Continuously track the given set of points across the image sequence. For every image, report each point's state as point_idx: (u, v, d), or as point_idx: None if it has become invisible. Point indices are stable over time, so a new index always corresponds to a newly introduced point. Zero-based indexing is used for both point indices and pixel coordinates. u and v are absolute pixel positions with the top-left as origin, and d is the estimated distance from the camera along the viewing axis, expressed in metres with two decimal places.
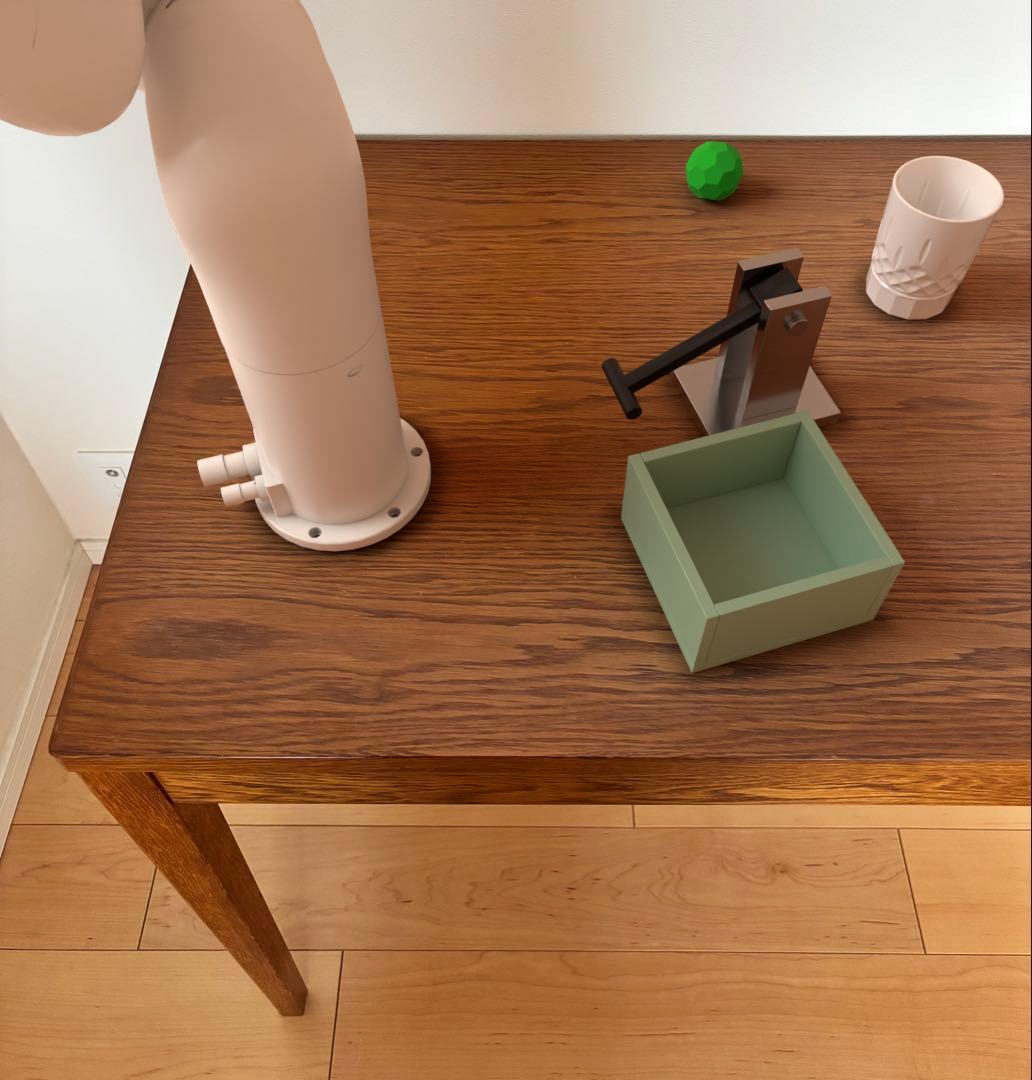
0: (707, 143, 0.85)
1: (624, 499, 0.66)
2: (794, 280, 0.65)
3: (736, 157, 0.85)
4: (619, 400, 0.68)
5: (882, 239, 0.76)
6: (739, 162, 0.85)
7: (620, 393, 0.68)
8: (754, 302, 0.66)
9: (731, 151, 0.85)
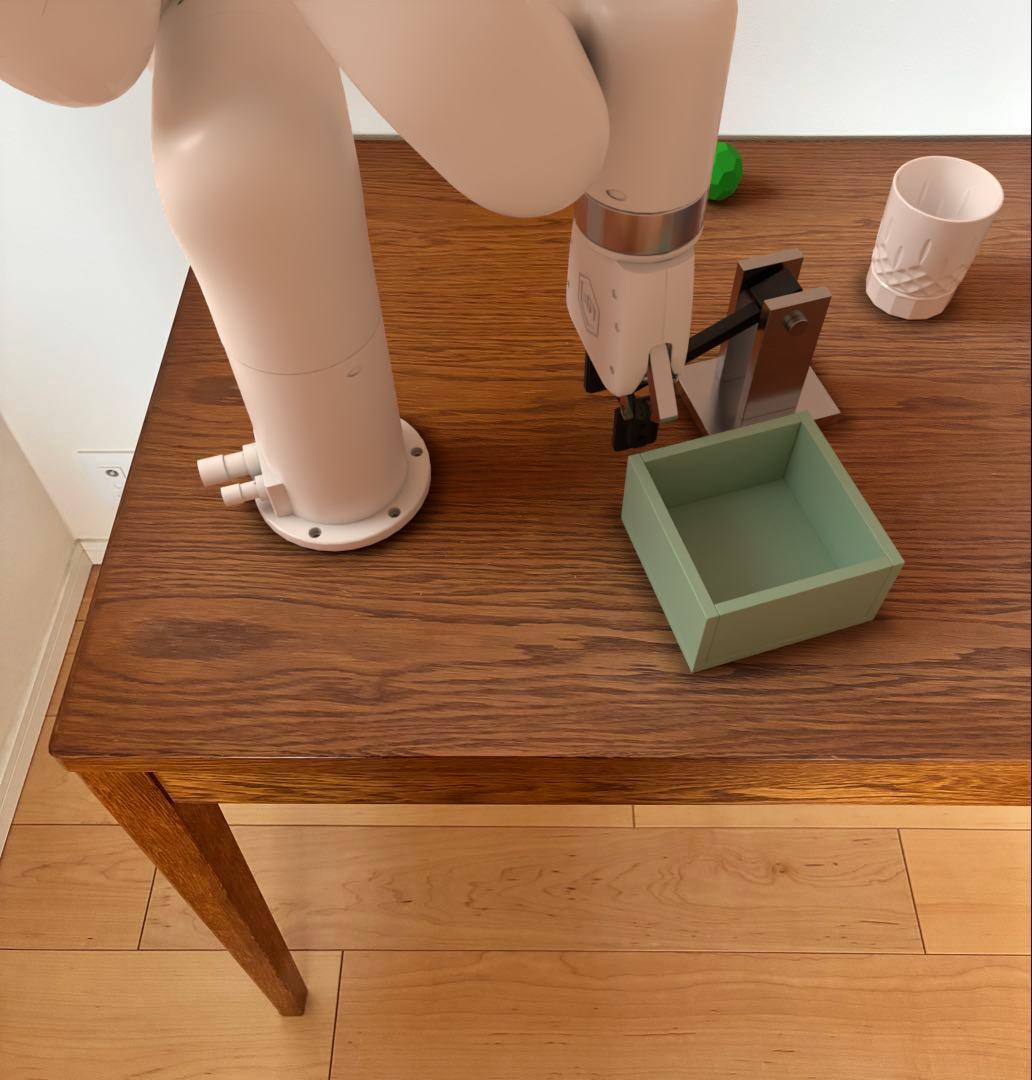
0: None
1: (624, 499, 0.66)
2: (794, 280, 0.65)
3: (736, 157, 0.85)
4: (619, 400, 0.68)
5: (882, 239, 0.76)
6: (739, 162, 0.85)
7: None
8: (754, 302, 0.66)
9: (731, 151, 0.85)
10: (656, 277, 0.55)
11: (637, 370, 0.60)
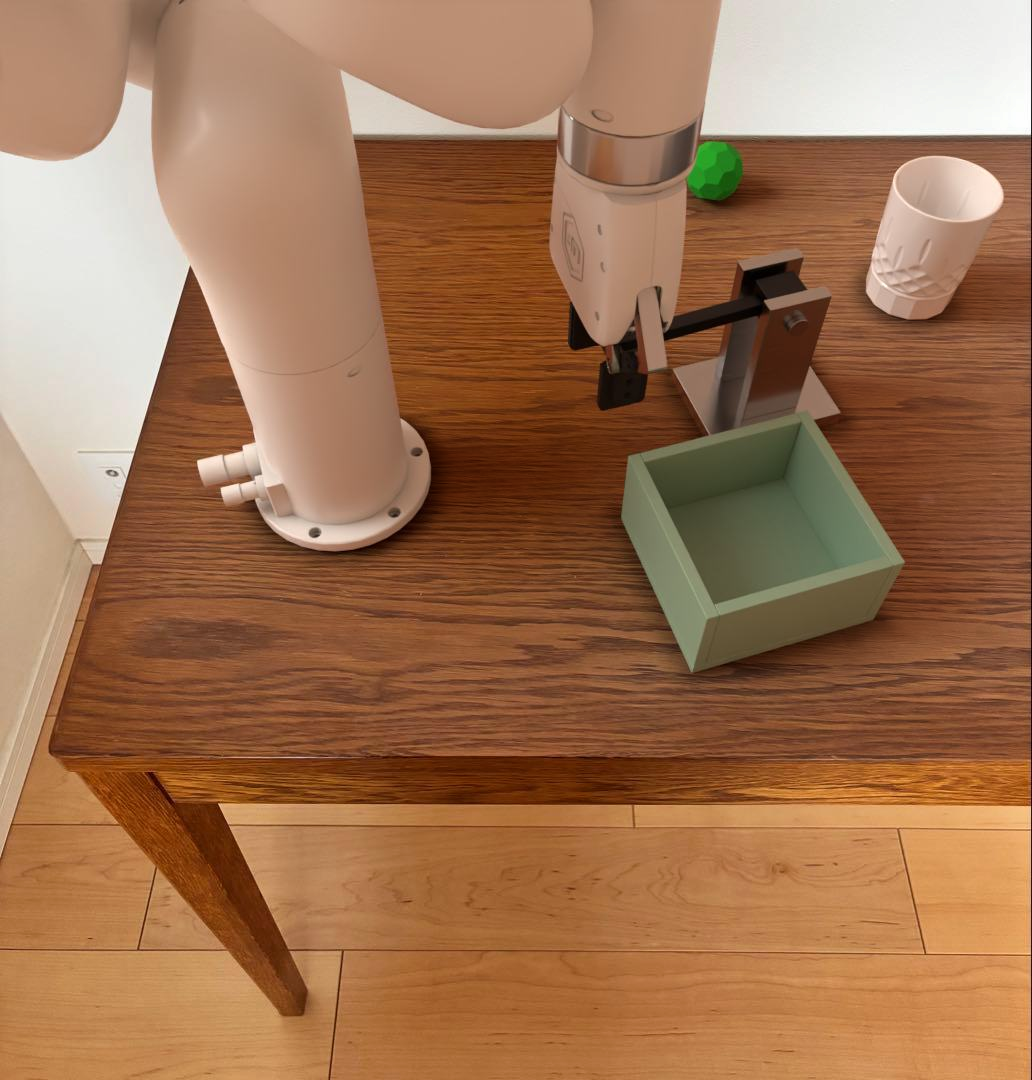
0: (707, 143, 0.85)
1: (624, 499, 0.66)
2: (801, 282, 0.65)
3: (736, 157, 0.85)
4: None
5: (882, 239, 0.76)
6: (739, 162, 0.85)
7: None
8: (756, 295, 0.66)
9: (731, 151, 0.85)
10: (645, 209, 0.51)
11: (624, 316, 0.56)
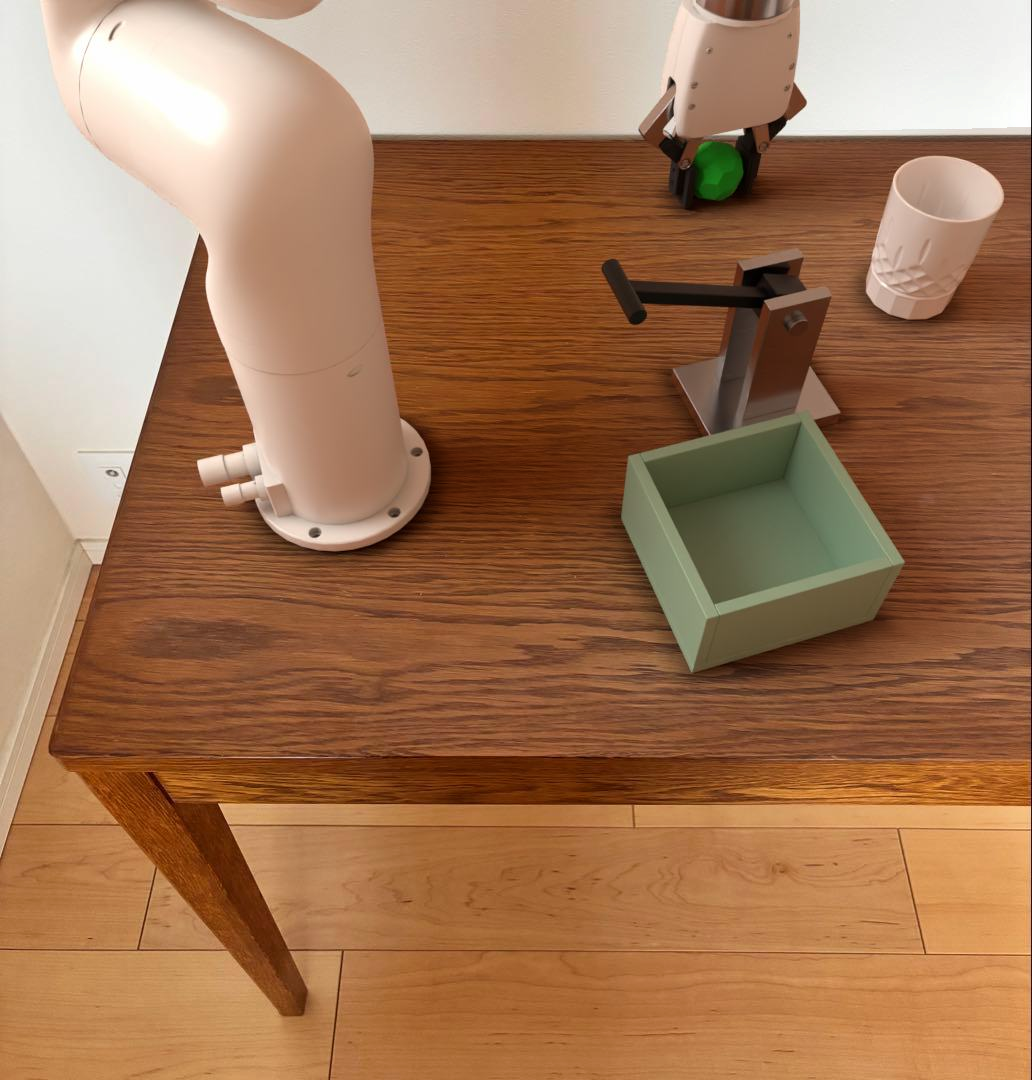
0: (707, 143, 0.85)
1: (624, 499, 0.66)
2: (804, 287, 0.66)
3: (736, 157, 0.85)
4: (625, 298, 0.60)
5: (882, 239, 0.76)
6: (739, 162, 0.85)
7: (629, 292, 0.60)
8: (761, 288, 0.65)
9: (731, 151, 0.85)
10: (683, 12, 0.74)
11: (663, 89, 0.80)
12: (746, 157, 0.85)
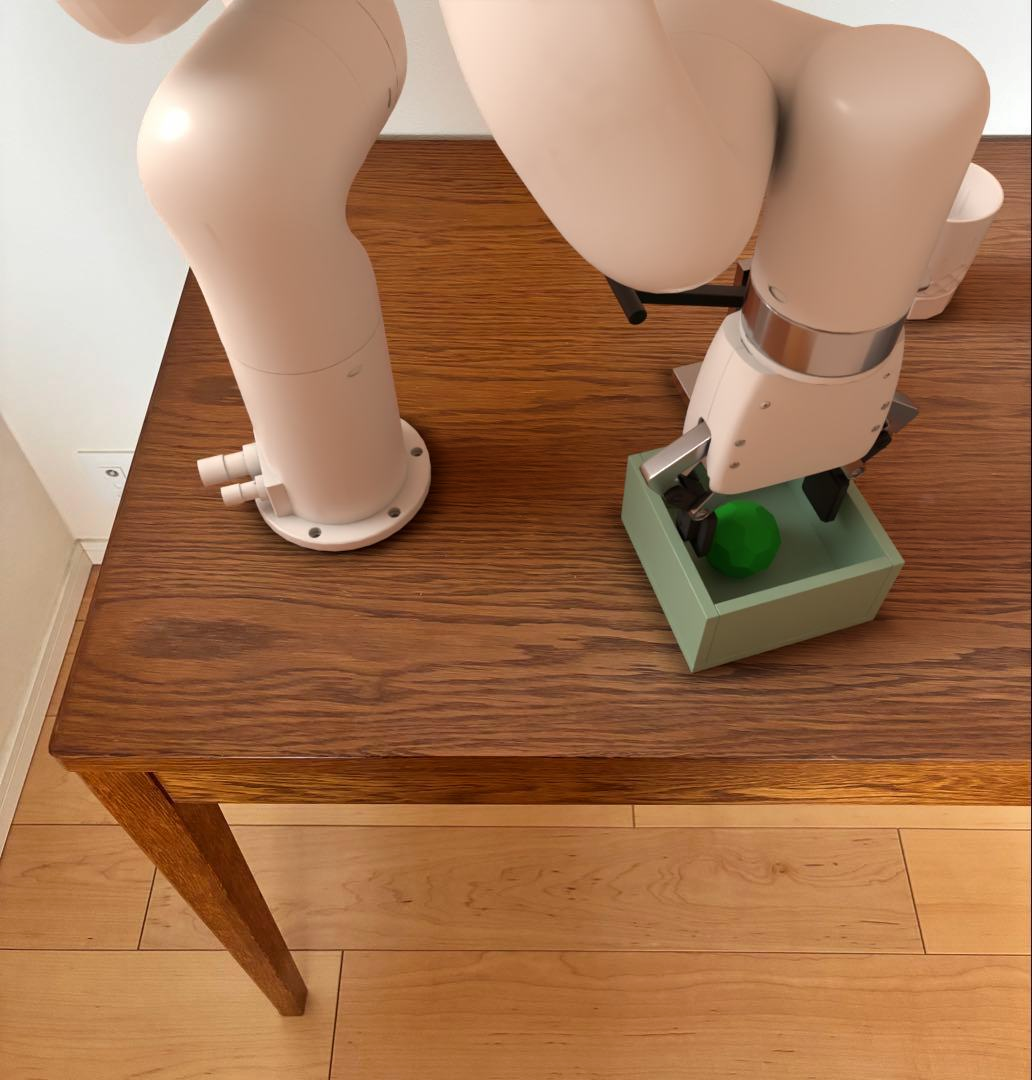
0: (729, 507, 0.62)
1: (624, 499, 0.66)
2: None
3: (772, 529, 0.61)
4: (625, 298, 0.60)
5: None
6: (776, 533, 0.62)
7: (629, 292, 0.60)
8: None
9: (764, 521, 0.61)
10: (724, 345, 0.48)
11: (690, 425, 0.54)
12: (830, 481, 0.59)
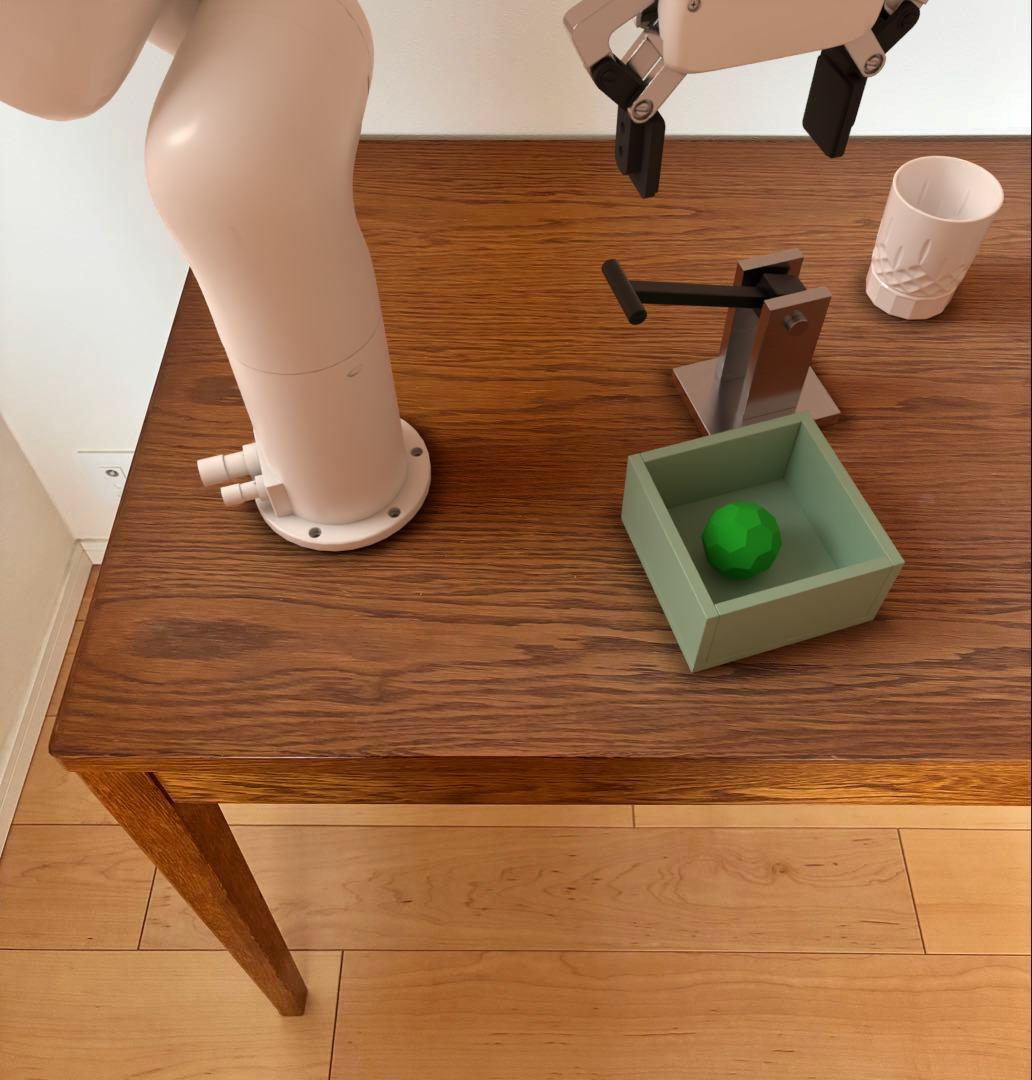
0: (731, 509, 0.62)
1: (624, 499, 0.66)
2: (804, 287, 0.66)
3: (773, 531, 0.61)
4: (625, 298, 0.60)
5: (882, 239, 0.76)
6: (777, 535, 0.62)
7: (629, 292, 0.60)
8: (761, 288, 0.65)
9: (766, 523, 0.61)
10: None
11: None
12: (839, 86, 0.45)
